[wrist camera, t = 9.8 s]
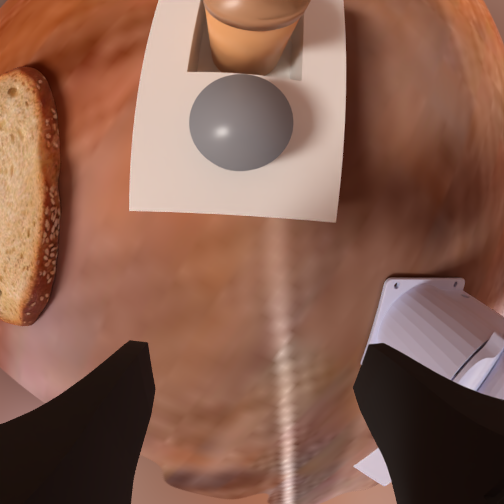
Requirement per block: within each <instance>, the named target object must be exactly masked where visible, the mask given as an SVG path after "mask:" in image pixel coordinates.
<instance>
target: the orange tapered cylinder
mask: <svg viewBox="0 0 504 504" xmlns="http://www.w3.org/2000/svg"><path fill="white" fill-rule="evenodd" d="M310 1H311V0H203V3H204V6H205V11H206V18H207V25H208V33H209V40H210V47H211V54H212V59H213V62H214V64H215V66H216V67H217V68H218V69H219V70H220V71H221V72H222V73H239V74H252V75H262V76H266V75H267V74H269V73H270V72H271V71H272V70H273V69H274V68H275V67H276V65H277V63H278V61H279V59H280V57H281V55H282V53H283V51H284V49H285V47H286V45H287V43H288V41H289V39H290V37H291V35H292V33H293V31H294V29H295V27H296V25H297V23H298V21H299V19H300V18H301V16H302V15H303V14H304V12H305V10H306V8H307V7H308V5H309V3H310Z"/></svg>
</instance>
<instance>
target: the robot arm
mask: <svg viewBox="0 0 504 504" xmlns="http://www.w3.org/2000/svg"><path fill="white" fill-rule="evenodd" d="M396 283H397V285H396V286H395V287H394V285H395V284H396ZM464 285H465V280H464V279H463V278H396V277H391V278H388V279H387V280H386V281H385V283H384V286H383V290H382V294H381V298H380V302H379V306H378V309H377V313H376V316H375V320H374V323H373V327H372V330H371V333H370V336H369V340H368V343H367V346H366V349H365V352H364V355H363V358H362V360H361V368H360V371H359V373H358V376H357V378H356V381H355V384H354V386H353V389H354V393H355V396H356V399H357V402H358V405H359V408H360V411H361V413H362V415H363V417H364V419H365V421H366V423H367V425H368V428H369V430H370V432H371V434H372V436H373V438H374V440H375V442H376V444H377V446H378V448H379V450H380V452H381V454H382V456H383V458H384V461H385V463H386V466H387V469H388V472H389V475H390V478H391V481H392V485H393V489H394V492H395V497H396V501H397V504H504V317H503V316H501V315H500V314H499V313H497V312H496V311H494V310H493V309H491V308H490V307H488V306H487V305H485V304H483V303H482V302H480V301H479V300H477V299H476V298H474V297H473V296H471V295H469V294H468V293H466V292H465V291H463V288H464ZM154 395H155V384H154V378H153V373H152V367H151V361H150V354H149V347H148V343H147V342H139V341H131V340H130V341H128V342H127V343H126V344H124V345H123V346H122V347H121V348H120V349H118V350H117V351H116V352H115V353H114V354H113V355H111V356H110V357H109V358H108V359H107V360H105V361H104V362H103V363H102V364H100V365H99V366H98V367H97V368H95V369H94V370H93V371H92V372H91V373H89V374H88V375H87V376H85V377H84V378H83V379H81V380H80V381H79V382H77V383H76V384H74V385H73V386H72V387H70V388H69V389H67V390H66V391H65V392H63V393H62V394H60V395H59V396H57V397H56V398H54V399H52V400H51V401H49V402H47V403H45V404H44V405H42V406H40V407H39V408H37V409H35V410H33V411H31V412H29V413H26V414H24V415H22V416H20V417H17V418H15V419H13V420H10V421H8V422H6V423H3V424H0V504H131V496H132V488H133V480H134V475H135V470H136V466H137V462H138V458H139V455H140V452H141V448H142V445H143V441H144V438H145V434H146V431H147V427H148V424H149V421H150V417H151V413H152V407H153V401H154Z"/></svg>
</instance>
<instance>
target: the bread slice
mask: <svg viewBox="0 0 504 504" xmlns="http://www.w3.org/2000/svg"><path fill="white" fill-rule="evenodd" d="M60 166H61V160H60V138H59V130H58V121H57V111H56V105H55V101H54V98H53V95H52V92H51V89H50V87H49V84H48V82H47V80H46V78H45V77H44V76H43V75H42V73H41V72H39V71H38V70H36V69H35V68H32V67H26V66H23V67H18V68H15V69H13V70H11V71H9V72H5V73H3V74H2V75H0V320H2V321H4V322H6V323H10V324H14V325H19V326H30V325H32V324H33V323H34V322H35V321H36V319H37V317H38V316H39V314H40V313H41V311H42V310H43V309H44V307H45V306H46V304H47V302H48V300H49V297H50V293H51V289H52V285H53V281H54V277H55V273H56V259H57V255H58V238H59V230H60V217H61V205H60V197H59V190H58V178H59V173H60Z"/></svg>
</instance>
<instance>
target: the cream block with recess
mask: <svg viewBox="0 0 504 504" xmlns="http://www.w3.org/2000/svg"><path fill="white" fill-rule="evenodd" d="M345 107H346V37H345V17H344V3H343V0H311V1H310V3H309V5H308V7H307V8H306V10H305V12H304V14H303V15H302V16H301V18H300V19H299V21H298V23H297V25H296V27H295V29H294V31H293V33H292V35H291V37H290V39H289V41H288V43H287V45H286V47H285V49H284V51H283V53H282V55H281V57H280V59H279V61H278V63H277V65H276V67H275V68H274V69H273V70H272V71H271V72H270V73H269V74H267V75H266V76H262V75H252V74H239V73H222V72H221V71H220V70H219V69H218V68H217V67H216V66H215V64H214V62H213V59H212V54H211V47H210V40H209V33H208V25H207V18H206V11H205V6H204V3H203V0H159V1H158V5H157V8H156V11H155V15H154V18H153V22H152V26H151V30H150V34H149V38H148V42H147V47H146V51H145V56H144V61H143V66H142V72H141V77H140V83H139V89H138V96H137V103H136V111H135V119H134V128H133V139H132V151H131V167H130V193H129V211H157V212H185V213H208V214H227V215H244V216H260V217H274V218H287V219H300V220H312V221H323V222H334V223H336V217H337V209H338V200H339V191H340V181H341V171H342V159H343V146H344V130H345Z"/></svg>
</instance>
